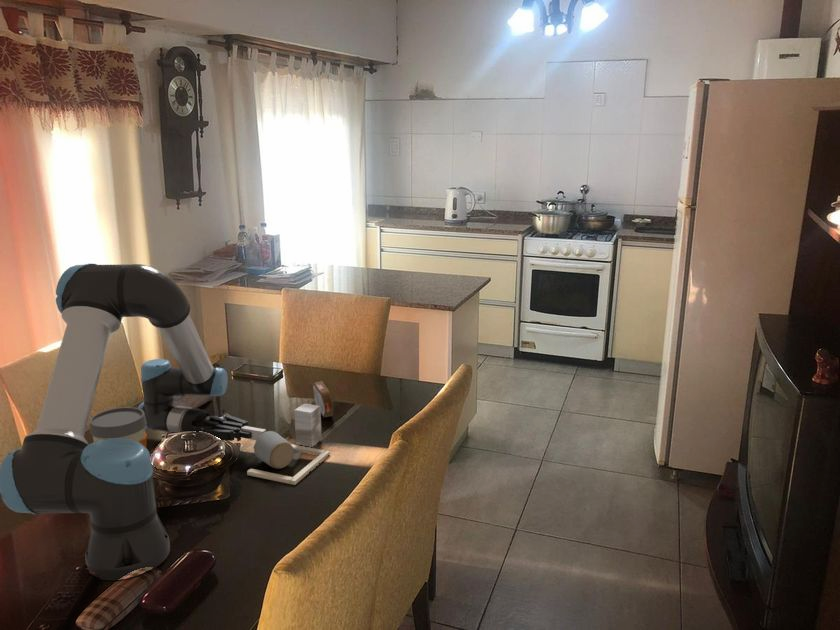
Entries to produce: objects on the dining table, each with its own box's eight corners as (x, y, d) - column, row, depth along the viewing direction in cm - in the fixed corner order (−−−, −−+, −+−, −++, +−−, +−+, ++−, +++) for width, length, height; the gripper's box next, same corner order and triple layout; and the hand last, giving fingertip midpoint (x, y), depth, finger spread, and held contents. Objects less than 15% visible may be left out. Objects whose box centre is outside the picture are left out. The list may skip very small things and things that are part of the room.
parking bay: (295, 485, 159) (294, 481, 159) (247, 474, 164) (247, 471, 163) (330, 454, 174) (329, 451, 174) (285, 446, 179) (285, 442, 179)
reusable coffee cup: (91, 489, 157) (83, 430, 153) (101, 465, 169) (93, 409, 165) (148, 482, 160) (142, 424, 156) (154, 459, 172) (148, 404, 168)
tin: (334, 420, 196) (333, 393, 194) (323, 422, 195) (322, 395, 193) (322, 402, 209) (321, 377, 207) (312, 403, 208) (311, 378, 206)
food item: (186, 417, 198) (183, 386, 196) (164, 414, 201) (161, 383, 198) (214, 401, 211) (212, 371, 208) (193, 398, 213) (190, 368, 211)
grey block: (312, 447, 178) (310, 412, 176) (295, 444, 180) (294, 410, 178) (321, 440, 183) (320, 406, 180) (305, 437, 185) (304, 403, 182)
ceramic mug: (271, 474, 164) (270, 445, 162) (254, 463, 170) (252, 434, 168) (307, 461, 171) (306, 433, 169) (289, 450, 177) (288, 423, 175)
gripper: (206, 425, 186) (279, 438, 177) (173, 444, 174) (250, 460, 166) (204, 400, 184) (278, 412, 175) (171, 417, 172) (248, 431, 164)
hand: (264, 435), depth 171 cm, fingers closed
